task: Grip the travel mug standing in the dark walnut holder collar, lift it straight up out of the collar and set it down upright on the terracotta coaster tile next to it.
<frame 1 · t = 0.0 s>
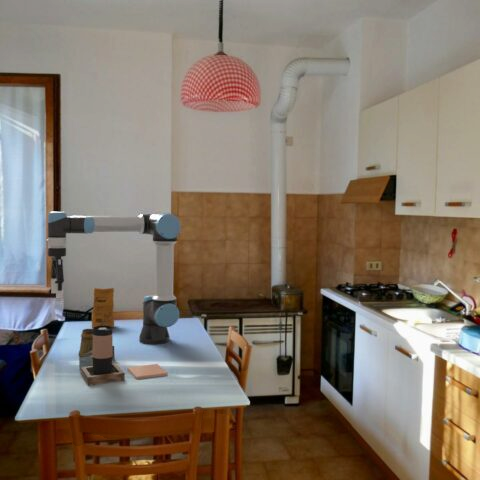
hand: (57, 295, 233), 28 cm above the table, tool pointing down, fingers open, 13 cm apart
coaster tile: (147, 372, 218), on the table
travel mug: (102, 377, 210), resting in holder collar
wooden mug: (93, 354, 242), on the table
beverage carton: (97, 365, 227), on the table
coffee package: (102, 327, 296), on the table
holder collar: (102, 377, 210), on the table
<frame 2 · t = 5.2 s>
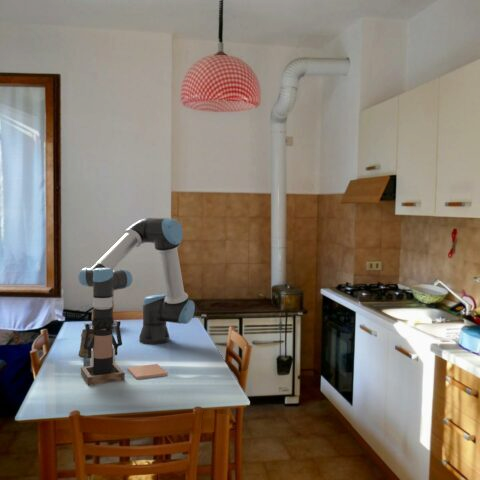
hand: (102, 364, 210), 5 cm above the table, tool pointing down, fingers closed on travel mug, 8 cm apart
travel mug: (102, 377, 210), resting in holder collar, touching gripper
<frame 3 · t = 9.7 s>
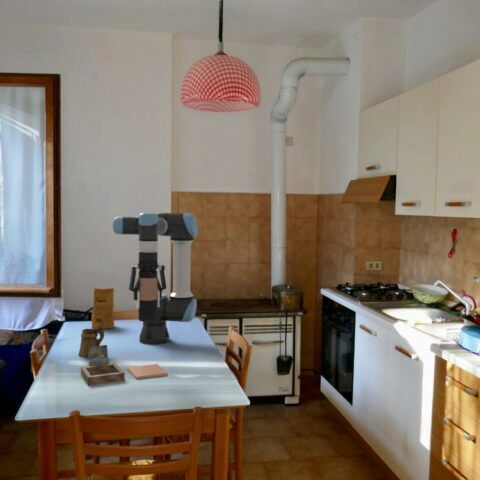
hand: (147, 307, 216), 27 cm above the table, tool pointing down, fingers closed on travel mug, 8 cm apart
travel mug: (147, 320, 216), point 22 cm above the table, touching gripper
when the fingers open (8 cm above the table, at t = 14.2 s): travel mug drops 1 cm, resting on coaster tile.
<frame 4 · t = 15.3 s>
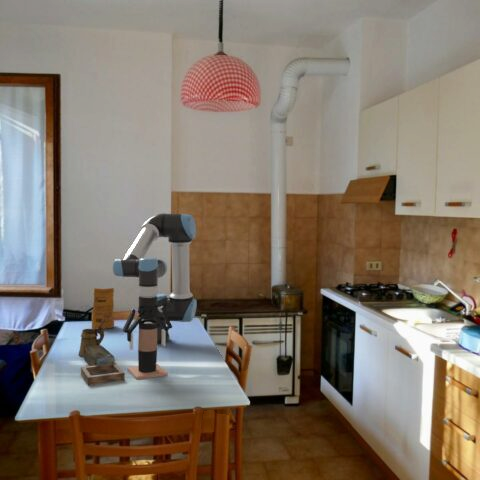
hand: (147, 347, 217), 10 cm above the table, tool pointing down, fingers open, 13 cm apart
travel mug: (147, 370, 218), point 1 cm above the table, touching coaster tile
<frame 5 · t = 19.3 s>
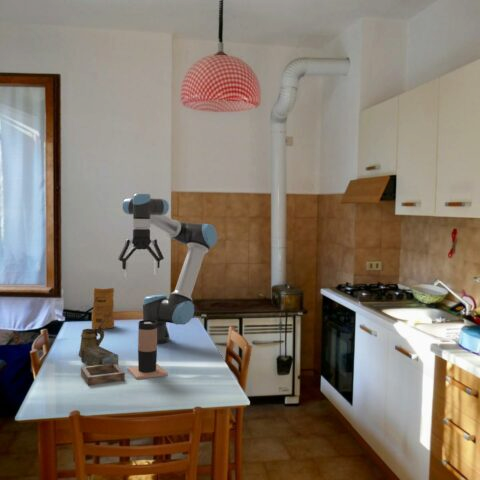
hand: (141, 276, 238), 37 cm above the table, tool pointing down, fingers open, 13 cm apart
at the end: travel mug inside the target area on the coaster tile (0.0 cm from its centre), point 0.8 cm above the coaster tile's base; travel mug tilted 0°; travel mug moved 18.1 cm from its start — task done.
